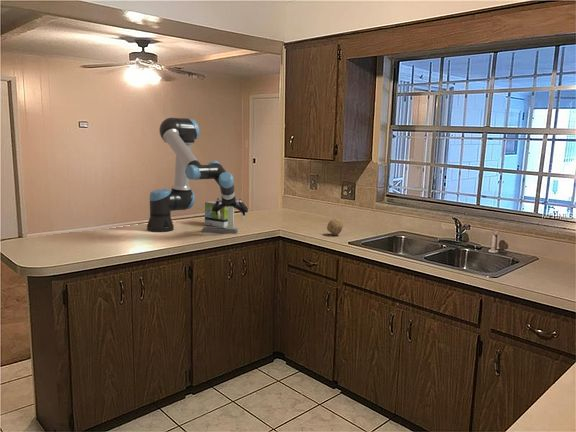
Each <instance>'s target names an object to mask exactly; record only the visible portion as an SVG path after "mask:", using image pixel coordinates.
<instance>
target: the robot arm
mask: <svg viewBox="0 0 576 432" xmlns="http://www.w3.org/2000/svg"><path fill="white" fill-rule="evenodd" d="M159 136H160V138H161V140H162V141H163V142H164V143H166V144H167V145H169V148H171V150H172V151H173V153H174V154H175V169H174V184H173V186H171V189H170V188H160V189H154V190H151V192H150V193H149V218H148V222H147V224H146V225H147V226H146V230H147V231H149V232H152V233H153V232H154V233H155V232H157V233H163V232H165V233H167V232H171V231H174V230H175V229H174V228H175V227H174V226H175V225H174V222H173V220H172V216H171V215H172V214H171V211H185V210H190V209H191V208H192V207H193V206H194V204H195V201H196V196H195V192H194V191H193V190H192V187H191V186H190V180H195V181H198V180H214V181H215V182H216V183H217V185H218V186H219V189H220V195H221V196H220V197H221V199H220V198H216V200H215V201H216V203H215V204H214V206H213V208H212V211H215V212H216V215H218V219H220V209H222V208H224V207H225V206H227V207H234V209H236V210H238V211H239V212H241V220H242V221H243V220H244V216H246V213H248V212H249V208H248V206H246V204H245V203H244V202H243V199H241V198H239V199H238V200H237V199H236V190H235V181H234V176H233V174H232V173H230V172H228V171H226V169H225V168H224V167H223V165H222V164H221V163H220V161H217V160H212V161H210V162H209V163H208V164H201V163H200V161H199V160H198V159H197V157H196V156H195V155H194V153H193V152H192V146H194V144H195V142H196V141H195V140H197V139H198V138H199V136H200V127H199V124H198V122H197V121H196V120H195V119H193V118H186V117H185V118H184V117H183V118H182V117H168V118H165V119H164V120H163V121H161V123H160V125H159ZM220 202H221V203H222V204H220ZM218 204H220V205H219V206H218ZM217 206H218V207H217Z"/></svg>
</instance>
